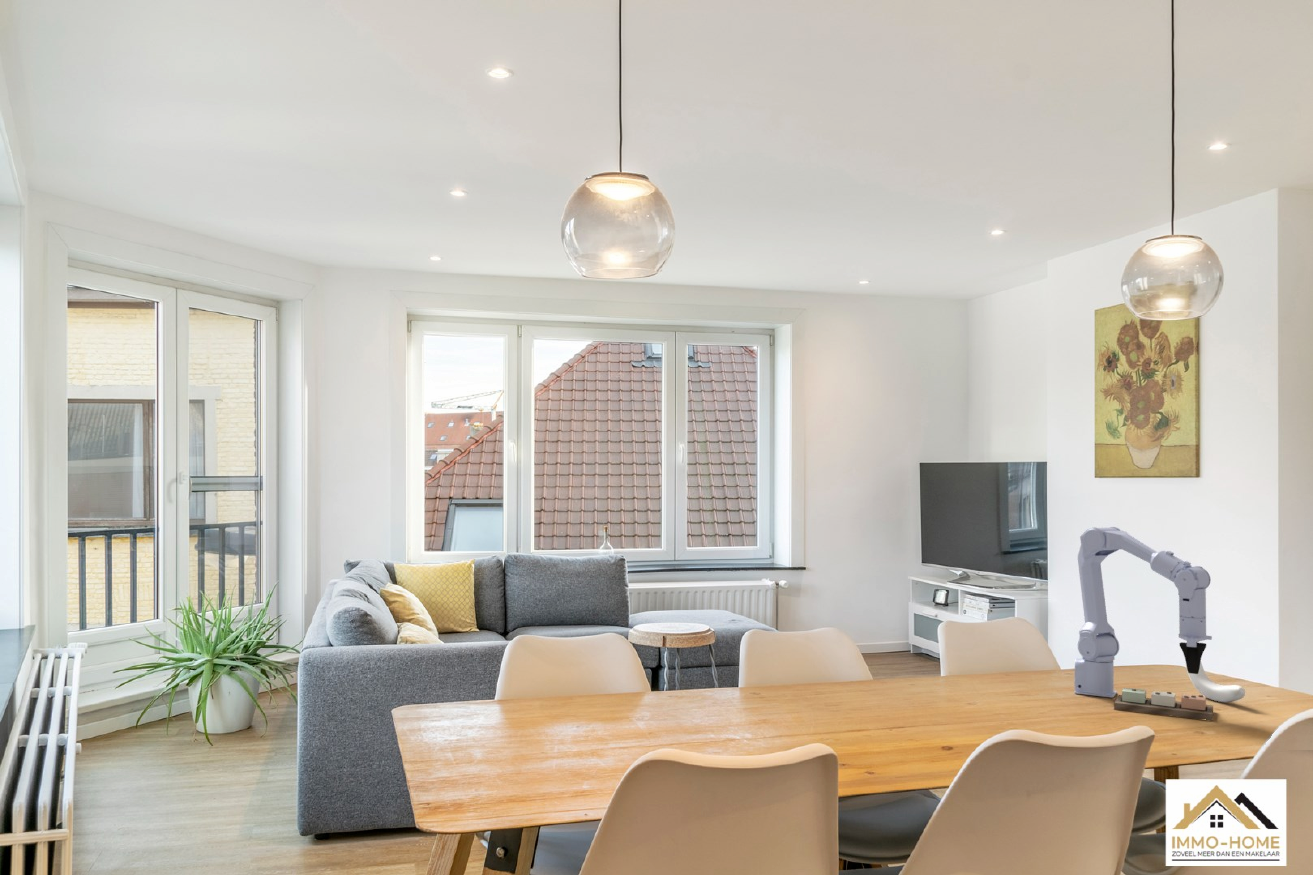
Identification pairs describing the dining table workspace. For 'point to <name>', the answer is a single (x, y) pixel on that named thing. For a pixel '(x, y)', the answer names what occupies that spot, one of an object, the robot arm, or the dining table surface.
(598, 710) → the dining table surface
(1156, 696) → the tile two
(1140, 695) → the tile one
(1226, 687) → the banana
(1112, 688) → the robot arm
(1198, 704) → the tile three
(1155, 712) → the dice tray
